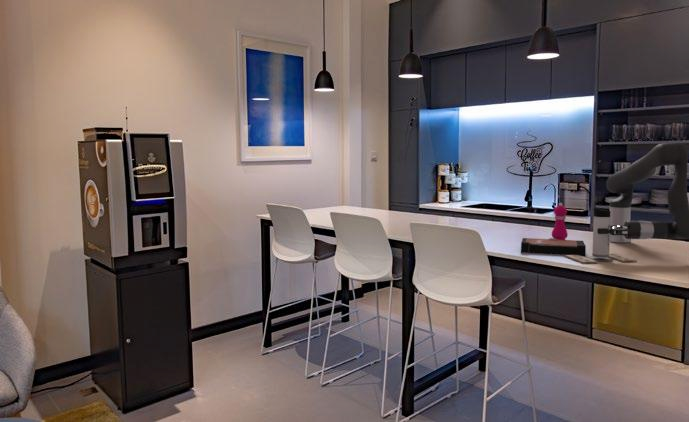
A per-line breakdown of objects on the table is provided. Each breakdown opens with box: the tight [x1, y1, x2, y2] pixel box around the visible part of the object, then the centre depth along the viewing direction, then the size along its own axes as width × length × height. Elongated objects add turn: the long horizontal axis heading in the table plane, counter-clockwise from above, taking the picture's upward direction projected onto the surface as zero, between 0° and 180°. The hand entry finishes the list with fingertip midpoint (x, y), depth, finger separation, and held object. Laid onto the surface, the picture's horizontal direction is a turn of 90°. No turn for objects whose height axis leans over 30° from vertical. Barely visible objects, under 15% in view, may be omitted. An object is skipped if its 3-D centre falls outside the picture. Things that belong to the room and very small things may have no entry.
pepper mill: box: [551, 202, 568, 240], centre depth 252 cm, size 7×7×20 cm
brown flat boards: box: [564, 253, 638, 265], centre depth 215 cm, size 23×14×1 cm, turn 96°
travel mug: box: [592, 207, 611, 258], centre depth 214 cm, size 6×7×20 cm
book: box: [520, 237, 587, 257], centre depth 234 cm, size 26×18×5 cm
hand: (595, 229), depth 214 cm, fingers closed on travel mug, 6 cm apart
